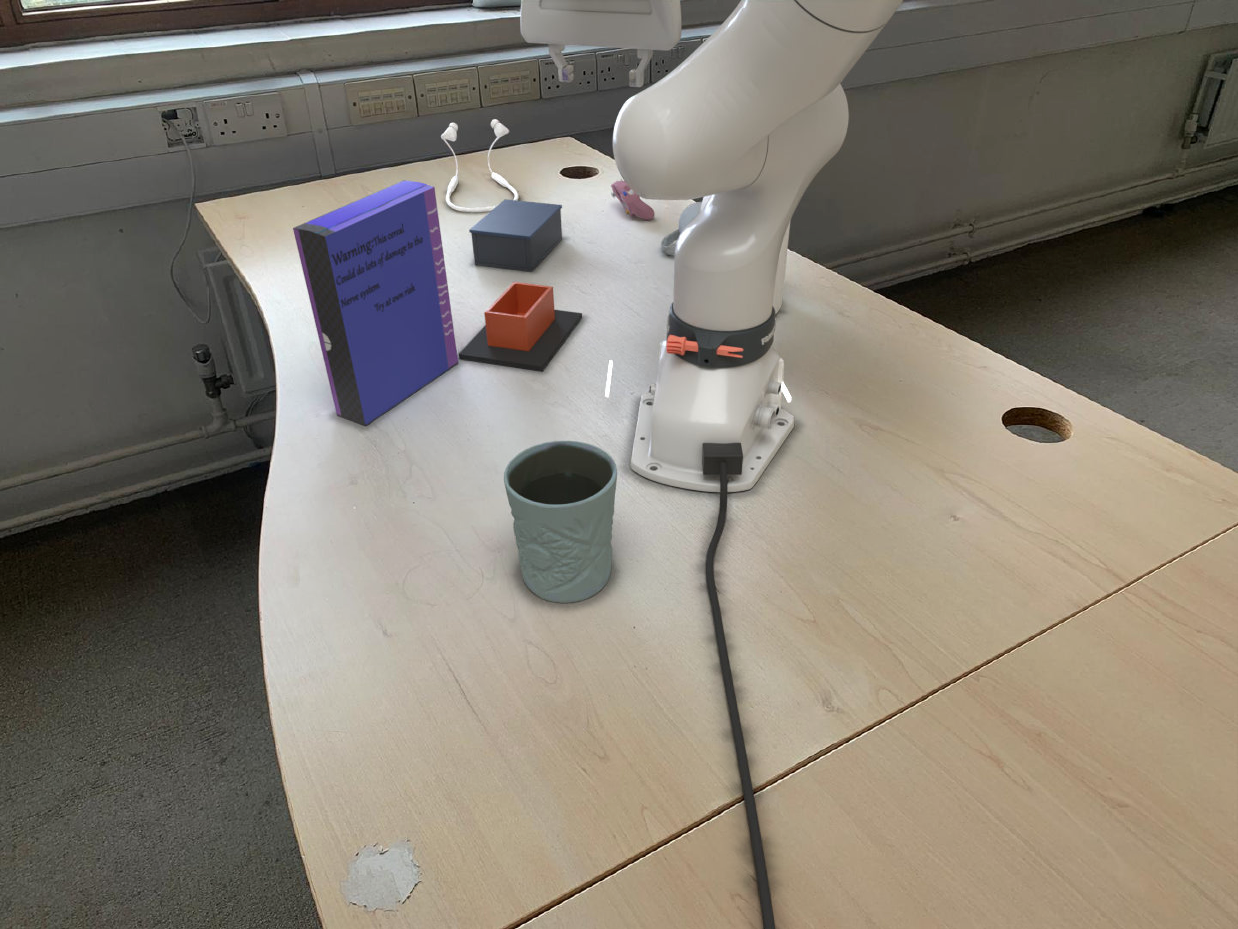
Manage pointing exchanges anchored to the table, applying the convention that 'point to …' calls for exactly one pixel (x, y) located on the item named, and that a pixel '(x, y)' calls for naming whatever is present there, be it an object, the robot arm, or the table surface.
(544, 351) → the mat
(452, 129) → the earphone
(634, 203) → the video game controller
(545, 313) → the top tub
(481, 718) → the table surface
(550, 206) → the storage box
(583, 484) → the green embossed cup
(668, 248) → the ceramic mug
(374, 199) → the purple flat upright box
